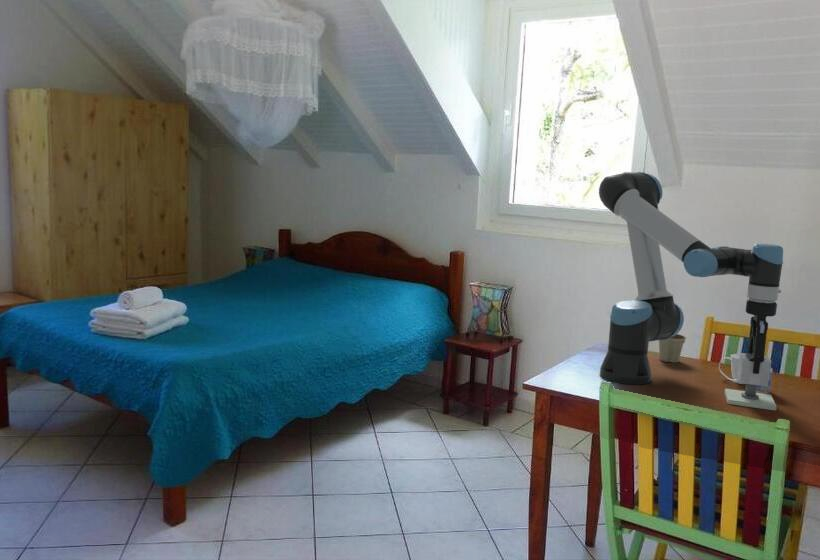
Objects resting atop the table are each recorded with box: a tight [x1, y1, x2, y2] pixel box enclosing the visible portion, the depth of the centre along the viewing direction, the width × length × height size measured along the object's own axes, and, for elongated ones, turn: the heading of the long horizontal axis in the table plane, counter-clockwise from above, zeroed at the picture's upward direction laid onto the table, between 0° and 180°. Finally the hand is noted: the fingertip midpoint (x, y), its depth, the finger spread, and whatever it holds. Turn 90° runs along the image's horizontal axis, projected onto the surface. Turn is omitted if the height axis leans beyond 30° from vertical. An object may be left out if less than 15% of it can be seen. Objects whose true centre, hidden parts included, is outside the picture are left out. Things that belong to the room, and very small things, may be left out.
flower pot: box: [658, 333, 688, 364], centre depth 231 cm, size 9×9×9 cm
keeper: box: [724, 384, 777, 411], centre depth 190 cm, size 12×11×9 cm
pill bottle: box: [756, 359, 774, 394], centre depth 200 cm, size 5×5×10 cm
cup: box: [718, 353, 745, 385], centre depth 209 cm, size 7×10×8 cm
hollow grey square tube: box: [737, 352, 772, 386], centre depth 189 cm, size 7×7×7 cm
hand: (752, 380), depth 190 cm, fingers closed on hollow grey square tube, 7 cm apart
